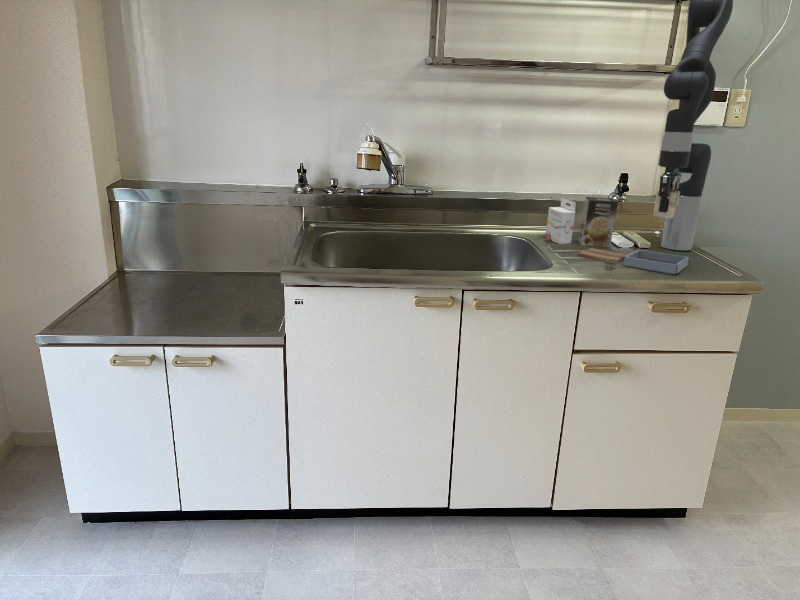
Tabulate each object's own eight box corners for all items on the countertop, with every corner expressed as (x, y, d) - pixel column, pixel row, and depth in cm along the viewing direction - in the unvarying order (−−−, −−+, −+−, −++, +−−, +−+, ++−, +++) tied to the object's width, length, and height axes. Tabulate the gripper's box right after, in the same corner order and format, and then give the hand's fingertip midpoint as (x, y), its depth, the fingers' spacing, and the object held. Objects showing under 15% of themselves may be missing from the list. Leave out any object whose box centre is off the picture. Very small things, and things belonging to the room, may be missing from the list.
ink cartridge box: (543, 241, 196) (549, 198, 190) (555, 240, 197) (561, 197, 192) (558, 247, 188) (565, 202, 183) (571, 246, 190) (577, 202, 185)
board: (590, 251, 183) (591, 247, 183) (629, 257, 177) (629, 253, 176) (577, 257, 174) (577, 253, 174) (616, 263, 167) (617, 259, 167)
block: (657, 214, 167) (661, 189, 165) (675, 216, 164) (680, 190, 162) (652, 216, 163) (657, 190, 161) (671, 218, 160) (676, 192, 158)
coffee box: (581, 248, 187) (588, 199, 181) (577, 244, 193) (584, 196, 187) (610, 250, 186) (618, 201, 181) (605, 245, 192) (613, 197, 187)
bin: (636, 257, 177) (638, 249, 177) (687, 265, 169) (689, 257, 168) (622, 265, 166) (623, 256, 165) (676, 274, 158) (678, 265, 157)
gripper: (667, 148, 166) (657, 207, 171) (654, 149, 155) (644, 212, 160) (695, 149, 161) (685, 210, 166) (684, 150, 150) (673, 215, 155)
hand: (665, 210), depth 163 cm, fingers closed on block, 5 cm apart
